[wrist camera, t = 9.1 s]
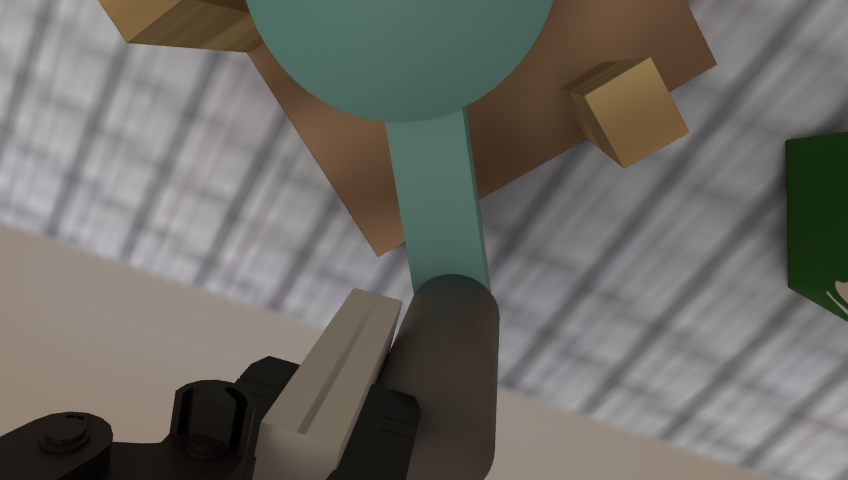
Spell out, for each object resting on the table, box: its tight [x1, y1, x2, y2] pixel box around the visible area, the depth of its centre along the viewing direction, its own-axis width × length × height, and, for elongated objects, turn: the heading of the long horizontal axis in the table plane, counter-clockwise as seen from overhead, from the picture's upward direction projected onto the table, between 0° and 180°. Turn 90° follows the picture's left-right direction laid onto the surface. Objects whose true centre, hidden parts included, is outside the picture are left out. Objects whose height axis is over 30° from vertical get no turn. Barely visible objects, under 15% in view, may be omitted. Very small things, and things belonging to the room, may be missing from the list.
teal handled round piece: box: [246, 0, 553, 480], centre depth 15 cm, size 17×9×9 cm, turn 9°
